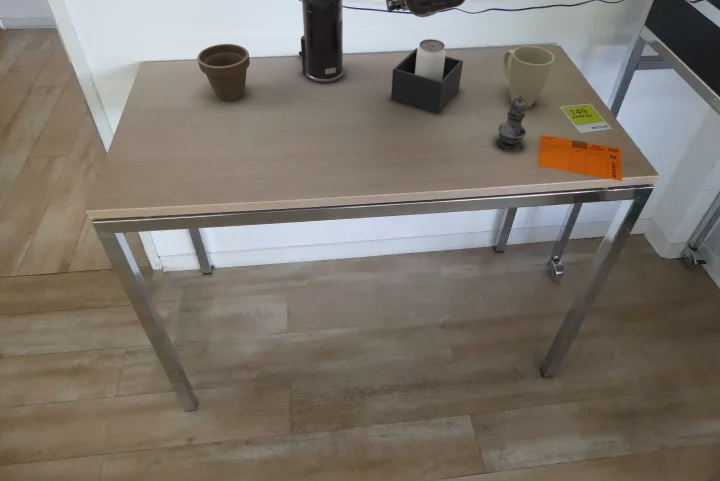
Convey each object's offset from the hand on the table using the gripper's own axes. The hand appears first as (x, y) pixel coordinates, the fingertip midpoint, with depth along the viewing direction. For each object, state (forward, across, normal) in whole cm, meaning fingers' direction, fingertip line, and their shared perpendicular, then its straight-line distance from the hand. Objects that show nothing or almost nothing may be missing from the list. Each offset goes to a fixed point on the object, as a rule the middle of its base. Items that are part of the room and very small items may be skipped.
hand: (418, 0), depth 121 cm
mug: (+6, -20, +26) cm, 34 cm away
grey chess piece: (-10, -14, +32) cm, 37 cm away
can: (+6, 0, +20) cm, 21 cm away
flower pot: (+5, +47, +12) cm, 48 cm away
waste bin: (+7, +1, +21) cm, 22 cm away
